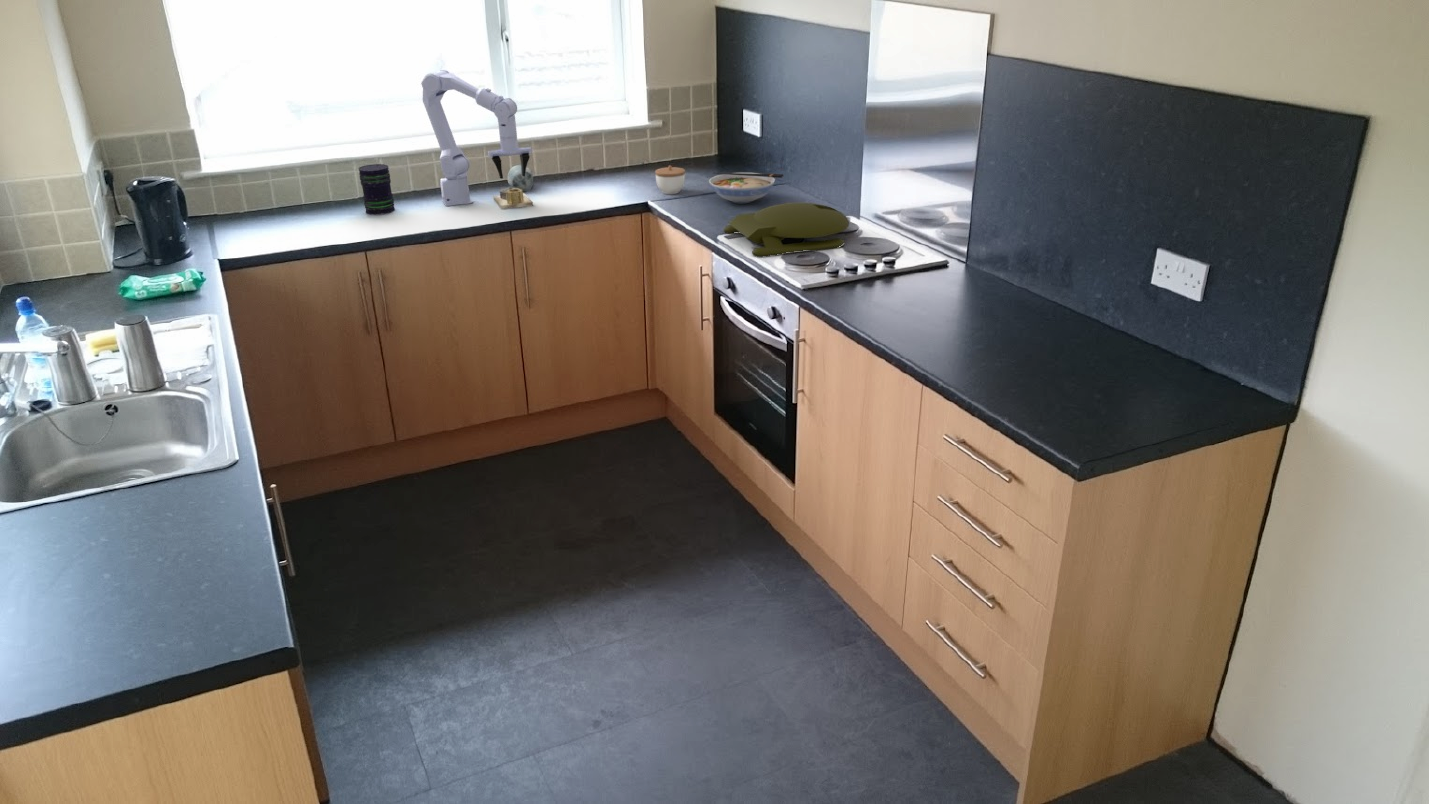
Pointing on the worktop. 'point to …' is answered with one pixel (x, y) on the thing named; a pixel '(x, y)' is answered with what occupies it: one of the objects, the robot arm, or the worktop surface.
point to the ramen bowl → (742, 186)
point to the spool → (520, 178)
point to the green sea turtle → (790, 227)
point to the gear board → (503, 203)
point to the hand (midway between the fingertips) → (512, 176)
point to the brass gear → (514, 196)
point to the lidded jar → (670, 179)
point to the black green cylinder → (376, 189)
